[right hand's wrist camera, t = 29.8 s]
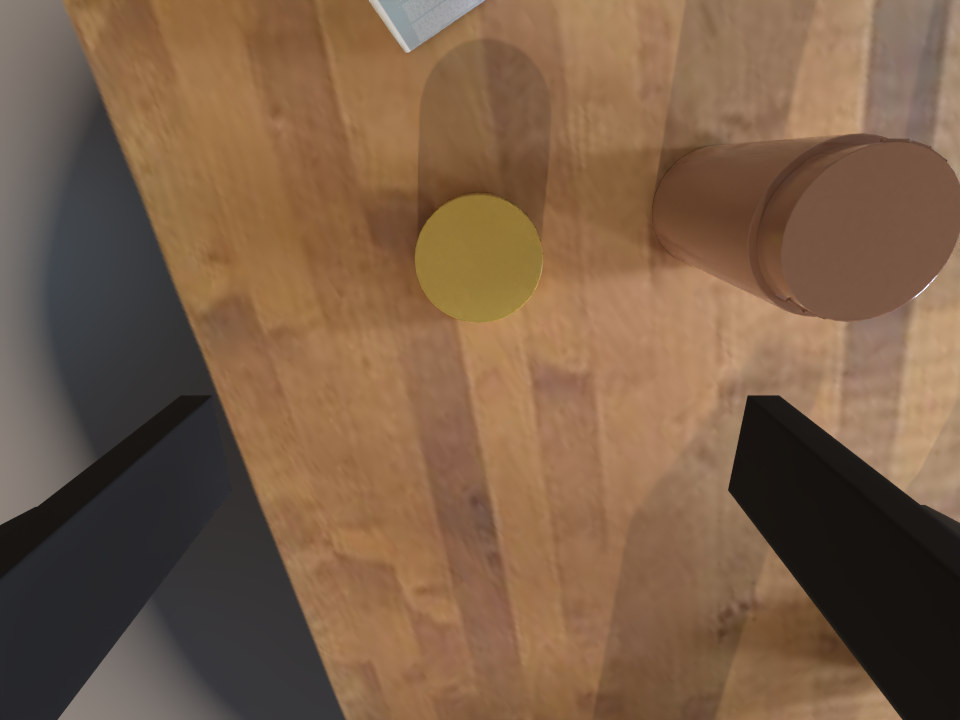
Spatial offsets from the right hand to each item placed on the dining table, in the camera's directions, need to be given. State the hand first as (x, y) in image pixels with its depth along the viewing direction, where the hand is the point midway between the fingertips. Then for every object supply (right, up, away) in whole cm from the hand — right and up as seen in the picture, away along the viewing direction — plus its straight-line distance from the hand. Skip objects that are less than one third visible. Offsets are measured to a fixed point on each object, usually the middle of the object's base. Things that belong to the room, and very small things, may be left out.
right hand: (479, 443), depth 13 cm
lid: (0, +9, +23) cm, 25 cm away
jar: (+16, +13, +24) cm, 32 cm away
